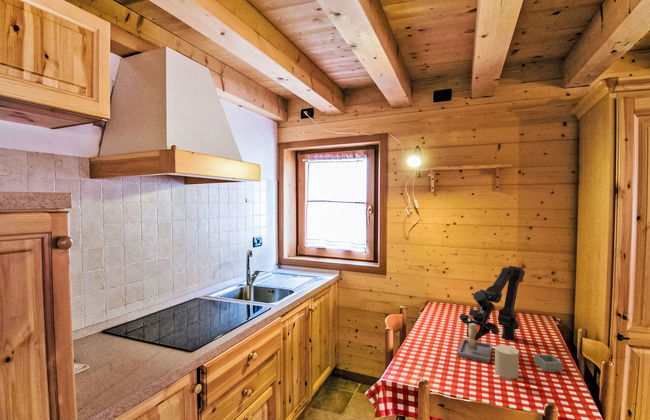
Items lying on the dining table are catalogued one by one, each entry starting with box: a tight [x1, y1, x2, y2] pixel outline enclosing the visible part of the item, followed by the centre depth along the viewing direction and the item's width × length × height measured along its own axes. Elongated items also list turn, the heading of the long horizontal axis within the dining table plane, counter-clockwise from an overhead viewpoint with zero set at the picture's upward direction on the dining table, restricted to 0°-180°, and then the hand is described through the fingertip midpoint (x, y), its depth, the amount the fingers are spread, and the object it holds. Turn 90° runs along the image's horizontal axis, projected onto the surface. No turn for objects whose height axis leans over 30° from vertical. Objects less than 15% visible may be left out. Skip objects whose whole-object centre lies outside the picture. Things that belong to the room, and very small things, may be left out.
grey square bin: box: [533, 353, 564, 372], centre depth 148 cm, size 8×8×5 cm
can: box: [494, 344, 520, 382], centre depth 143 cm, size 9×9×12 cm
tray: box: [457, 338, 493, 364], centre depth 165 cm, size 18×14×2 cm
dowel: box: [467, 323, 479, 351], centre depth 163 cm, size 4×4×12 cm
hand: (471, 338), depth 163 cm, fingers closed on dowel, 4 cm apart
